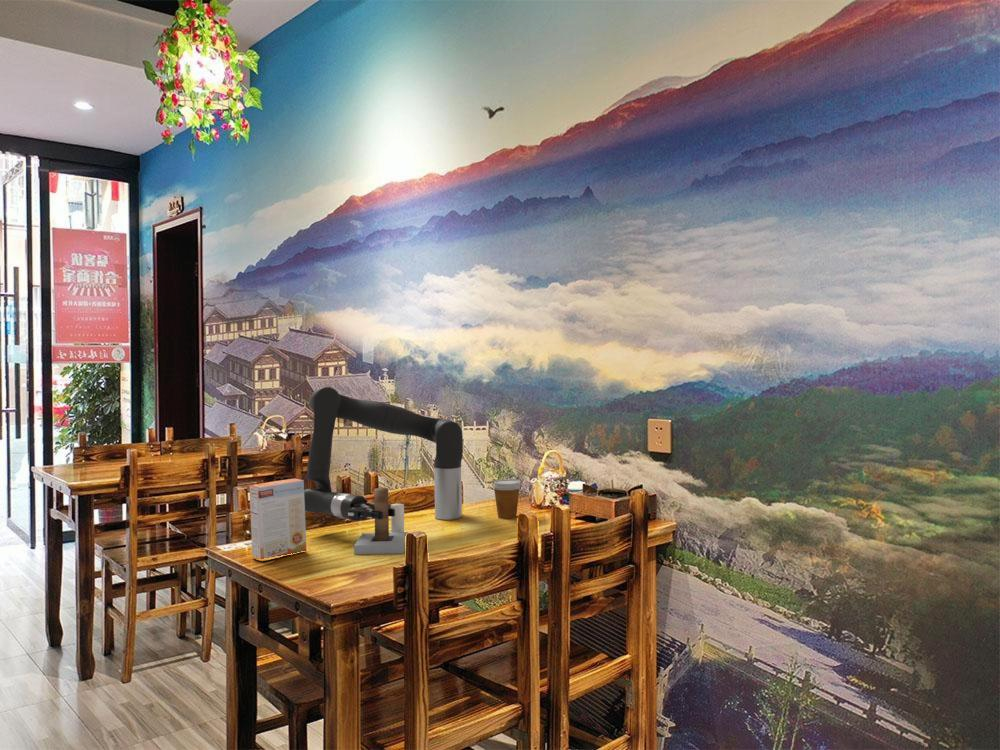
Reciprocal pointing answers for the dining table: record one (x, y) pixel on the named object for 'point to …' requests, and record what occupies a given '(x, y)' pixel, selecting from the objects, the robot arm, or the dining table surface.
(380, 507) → the walnut dowel
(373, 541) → the board
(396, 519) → the cream rod
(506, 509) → the disposable coffee cup
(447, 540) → the dining table surface
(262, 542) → the cracker box
